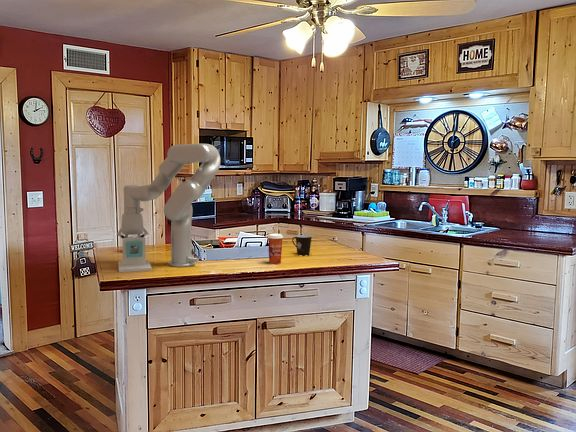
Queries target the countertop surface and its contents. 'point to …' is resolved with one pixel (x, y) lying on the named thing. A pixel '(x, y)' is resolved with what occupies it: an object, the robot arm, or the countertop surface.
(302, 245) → the coffee mug
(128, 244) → the spacer
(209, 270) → the countertop surface
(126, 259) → the bracket
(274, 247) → the paper cup
